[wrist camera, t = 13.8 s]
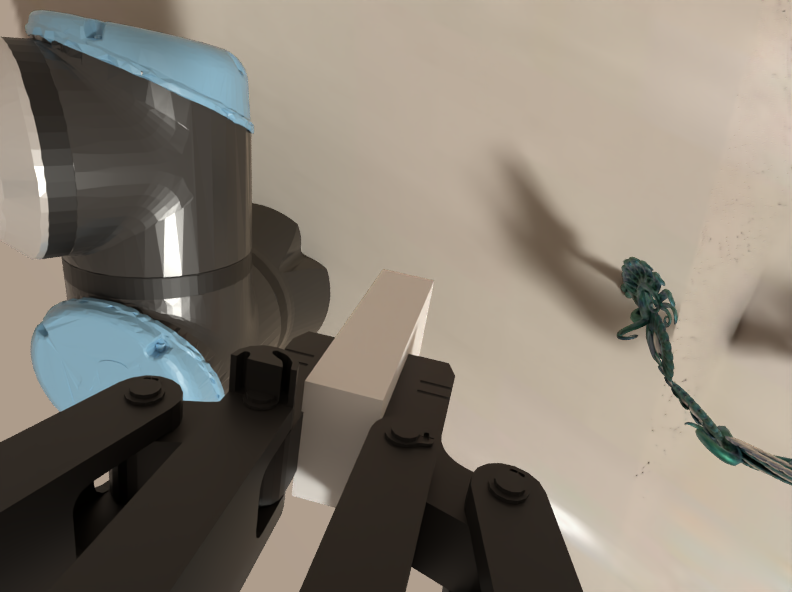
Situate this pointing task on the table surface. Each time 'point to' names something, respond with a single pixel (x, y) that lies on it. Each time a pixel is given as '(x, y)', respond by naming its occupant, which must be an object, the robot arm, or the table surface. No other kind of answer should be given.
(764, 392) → the table surface
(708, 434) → the decorative creature
